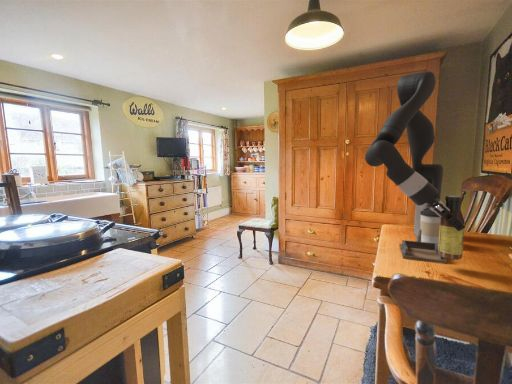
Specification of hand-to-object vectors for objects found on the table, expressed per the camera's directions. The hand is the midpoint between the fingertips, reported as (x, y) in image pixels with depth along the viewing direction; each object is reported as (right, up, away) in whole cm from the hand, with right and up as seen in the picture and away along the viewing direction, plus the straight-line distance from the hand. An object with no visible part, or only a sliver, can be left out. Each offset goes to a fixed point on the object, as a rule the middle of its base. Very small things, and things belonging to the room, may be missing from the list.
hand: (458, 226), depth 78 cm
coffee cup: (+10, -11, +27) cm, 31 cm away
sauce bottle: (-1, -10, +2) cm, 11 cm away
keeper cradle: (-2, -13, +15) cm, 20 cm away
